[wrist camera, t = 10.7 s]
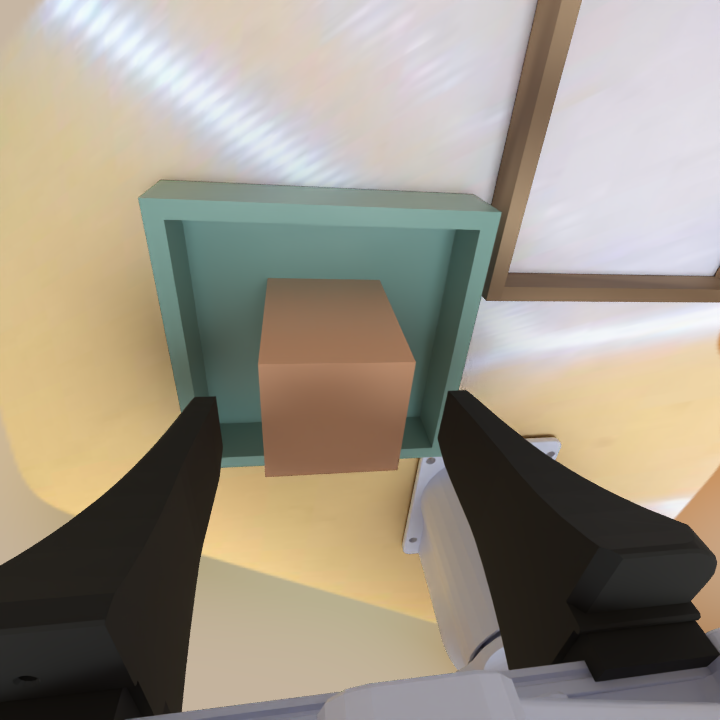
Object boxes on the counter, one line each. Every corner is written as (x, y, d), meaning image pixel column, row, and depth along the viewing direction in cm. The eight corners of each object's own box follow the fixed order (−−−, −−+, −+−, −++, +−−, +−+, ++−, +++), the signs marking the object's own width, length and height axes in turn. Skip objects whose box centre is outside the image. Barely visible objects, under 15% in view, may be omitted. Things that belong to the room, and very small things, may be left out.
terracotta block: (370, 370, 20) (397, 470, 15) (271, 372, 19) (265, 477, 14) (379, 279, 17) (416, 362, 12) (267, 277, 17) (257, 364, 12)
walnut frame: (718, 288, 20) (746, 302, 19) (473, 285, 18) (486, 300, 17) (919, -69, 14) (982, -83, 12) (567, -129, 12) (600, -153, 11)
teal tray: (427, 419, 22) (442, 456, 20) (202, 428, 21) (192, 469, 18) (473, 194, 16) (501, 212, 14) (160, 180, 15) (138, 197, 12)
